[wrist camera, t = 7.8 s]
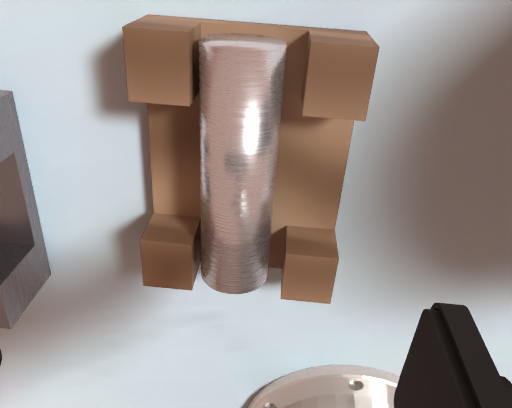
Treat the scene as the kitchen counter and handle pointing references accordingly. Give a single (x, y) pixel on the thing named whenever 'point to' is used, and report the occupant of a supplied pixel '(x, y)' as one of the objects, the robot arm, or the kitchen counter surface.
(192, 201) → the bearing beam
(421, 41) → the kitchen counter surface
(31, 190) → the V-block
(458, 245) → the kitchen counter surface
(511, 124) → the kitchen counter surface
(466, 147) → the kitchen counter surface
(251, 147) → the steel axle
